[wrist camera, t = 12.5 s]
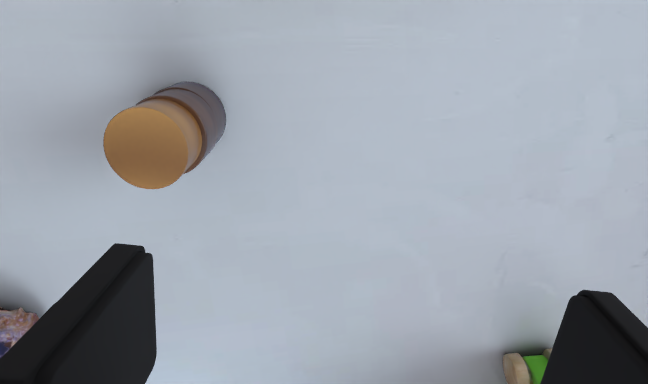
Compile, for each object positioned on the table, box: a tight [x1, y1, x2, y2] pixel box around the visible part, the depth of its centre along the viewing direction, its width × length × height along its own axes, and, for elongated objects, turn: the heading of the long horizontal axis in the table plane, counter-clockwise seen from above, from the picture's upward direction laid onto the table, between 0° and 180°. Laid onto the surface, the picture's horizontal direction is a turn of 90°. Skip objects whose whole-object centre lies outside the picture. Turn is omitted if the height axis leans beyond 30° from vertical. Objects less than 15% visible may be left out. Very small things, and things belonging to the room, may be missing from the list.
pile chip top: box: [136, 89, 218, 174], centre depth 32 cm, size 6×6×3 cm
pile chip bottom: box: [152, 82, 226, 144], centre depth 35 cm, size 6×6×3 cm
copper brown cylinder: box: [104, 99, 202, 189], centre depth 29 cm, size 5×5×3 cm
